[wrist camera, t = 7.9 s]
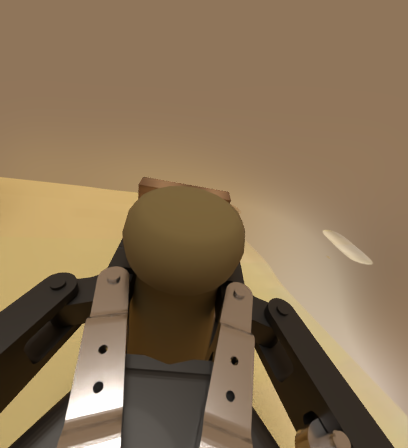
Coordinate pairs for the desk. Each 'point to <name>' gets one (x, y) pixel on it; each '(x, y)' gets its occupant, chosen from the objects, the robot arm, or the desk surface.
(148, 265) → the cork
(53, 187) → the desk surface
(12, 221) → the desk surface
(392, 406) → the desk surface
